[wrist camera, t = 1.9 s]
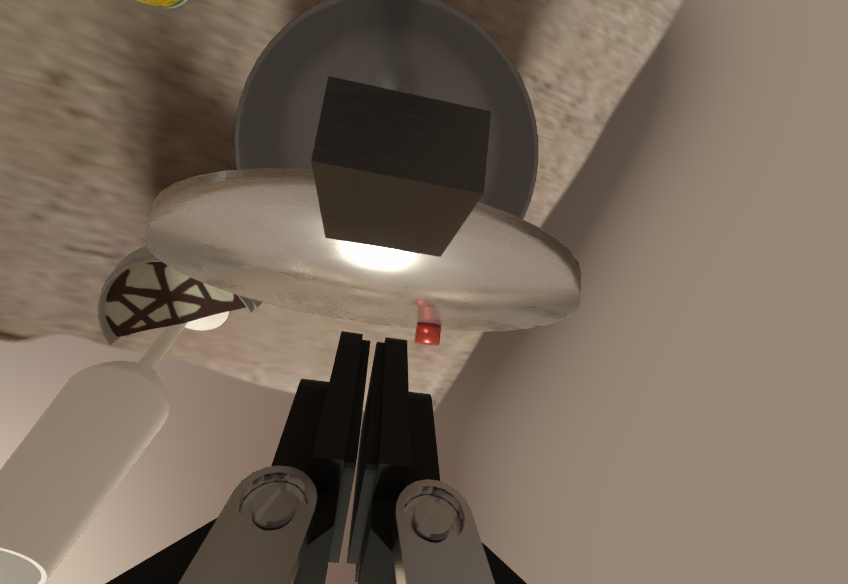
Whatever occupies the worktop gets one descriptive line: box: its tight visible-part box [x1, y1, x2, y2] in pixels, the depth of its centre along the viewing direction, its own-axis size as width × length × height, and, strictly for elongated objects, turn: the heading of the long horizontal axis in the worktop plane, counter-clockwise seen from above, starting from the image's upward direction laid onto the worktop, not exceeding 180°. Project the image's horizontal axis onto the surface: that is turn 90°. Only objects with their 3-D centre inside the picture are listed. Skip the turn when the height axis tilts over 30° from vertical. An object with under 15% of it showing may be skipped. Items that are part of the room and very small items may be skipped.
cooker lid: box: [143, 76, 581, 345], centre depth 19 cm, size 22×19×2 cm
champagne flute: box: [0, 311, 229, 584], centre depth 31 cm, size 7×7×24 cm
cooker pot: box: [234, 0, 538, 219], centre depth 31 cm, size 19×19×11 cm
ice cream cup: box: [98, 246, 262, 345], centre depth 34 cm, size 12×6×10 cm, turn 103°
